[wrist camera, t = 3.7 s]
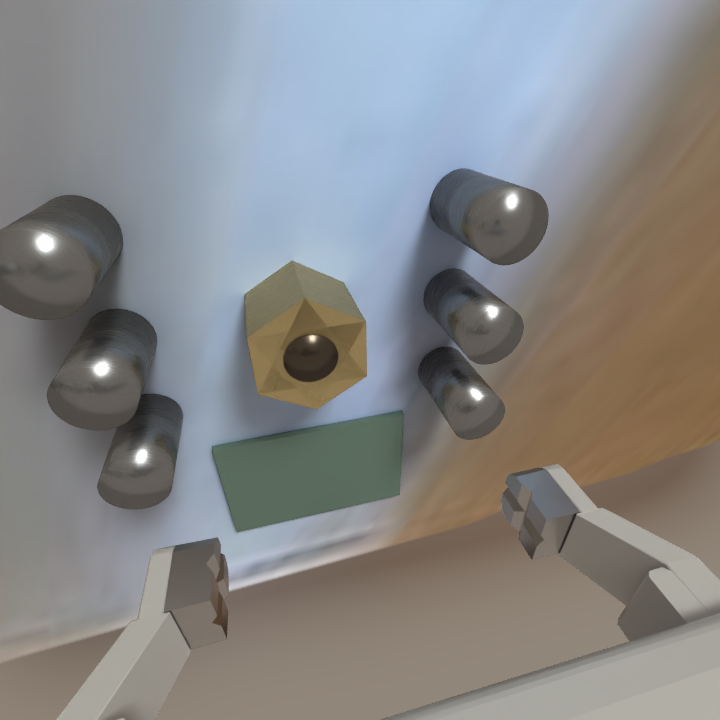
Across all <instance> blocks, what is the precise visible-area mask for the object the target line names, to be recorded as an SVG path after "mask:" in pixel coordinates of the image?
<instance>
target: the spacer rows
mask: <svg viewBox="0 0 720 720" xmlns="http://www.w3.org/2000/svg"><path fill="white" fill-rule="evenodd" d="M430 209H431V215H432V218H433V220H434V222H435V223H436V225H437V226H438V227H440V228H441V229H443V230H444V231H446V232H447V233H449V234H450V235H452V236H453V237H455V238H456V239H458V240H459V241H461V242H462V243H464V244H465V245H467V246H468V247H470V248H471V249H473V250H474V251H476V252H477V253H479V254H480V255H482V256H483V257H485V258H486V259H488V260H489V261H491V262H492V263H495V264H498V265H511V264H514V263H517V262H519V261H521V260H523V259H525V258H526V257H527V256H529V255H530V254H531V253H532V252H533V251H534V250H535V249H536V247H537V246H538V245H539V243H540V242H541V240H542V238H543V236H544V234H545V232H546V229H547V225H548V208H547V204H546V202H545V200H544V199H543V197H542V196H541V195H540V194H539V193H537V192H535V191H533V190H530V189H527V188H524V187H521V186H518V185H515V184H512V183H509V182H506V181H503V180H500V179H497V178H494V177H491V176H488V175H485V174H482V173H479V172H476V171H473V170H470V169H458V170H454V171H452V172H450V173H448V174H447V175H446V176H444V177H443V178H442V179H441V180H440V182H439V183H438V184H437V186H436V187H435V189H434V192H433V194H432V198H431V204H430ZM122 245H123V237H122V232H121V229H120V226H119V224H118V222H117V221H116V219H115V218H114V217H113V215H112V214H111V213H110V212H109V211H108V210H107V209H106V208H104V207H103V206H102V205H100V204H98V203H97V202H95V201H93V200H91V199H88V198H85V197H81V196H76V195H65V196H59V197H56V198H54V199H52V200H50V201H48V202H47V203H45V204H43V205H42V206H40V207H38V208H37V209H35V210H33V211H32V212H30V213H28V214H27V215H25V216H23V217H21V218H20V219H18V220H16V221H15V222H13V223H11V224H10V225H8V226H6V227H5V228H3V229H1V230H0V305H2V306H3V307H5V308H7V309H9V310H10V311H12V312H15V313H17V314H19V315H22V316H25V317H29V318H33V319H40V320H54V319H60V318H64V317H67V316H69V315H72V314H73V313H75V312H77V311H78V310H79V309H80V308H81V307H82V306H83V305H84V304H85V302H86V301H87V299H88V298H89V297H90V295H91V294H92V292H93V291H94V289H95V288H96V287H97V285H98V284H99V282H100V281H101V279H102V278H103V277H104V275H105V274H106V272H107V271H108V270H109V268H110V267H111V265H112V264H113V262H114V261H115V260H116V258H117V257H118V255H119V254H120V252H121V249H122ZM424 305H425V308H426V310H427V311H428V312H429V314H430V315H431V316H432V317H433V318H434V319H435V320H436V322H437V323H438V324H439V325H440V326H441V327H442V328H443V329H444V331H445V332H446V333H447V334H448V335H449V336H450V337H451V339H452V340H453V341H454V342H455V343H456V344H457V345H458V347H459V348H460V349H461V350H462V351H463V352H464V353H465V354H466V356H467V357H468V358H469V359H470V360H471V361H473V362H475V363H477V364H492V363H495V362H498V361H500V360H502V359H503V358H505V357H506V356H508V355H509V354H510V353H511V352H512V351H513V350H514V349H515V348H516V346H517V345H518V343H519V342H520V340H521V337H522V334H523V329H524V325H523V320H522V318H521V316H520V315H519V314H518V313H517V312H516V311H515V310H514V309H512V308H511V307H510V306H508V305H507V304H506V303H505V302H503V301H502V300H501V299H499V298H498V297H497V296H496V295H494V294H493V293H492V292H491V291H489V290H488V289H487V288H485V287H484V286H483V285H482V284H480V283H479V282H478V281H476V280H475V279H474V278H473V277H471V276H470V275H469V274H467V273H466V272H465V271H463V270H460V269H448V270H445V271H443V272H441V273H439V274H438V275H436V276H435V277H434V278H433V279H432V280H431V281H430V283H429V284H428V286H427V288H426V290H425V293H424ZM156 344H157V336H156V332H155V330H154V328H153V326H152V325H151V324H150V323H149V322H148V321H147V320H146V319H145V318H144V317H142V316H141V315H139V314H137V313H135V312H132V311H128V310H123V309H110V310H106V311H103V312H100V313H98V314H97V315H95V316H94V317H93V318H92V319H91V320H90V322H89V323H88V325H87V327H86V328H85V330H84V331H83V333H82V334H81V336H80V338H79V339H78V341H77V342H76V344H75V346H74V347H73V349H72V350H71V352H70V354H69V355H68V357H67V358H66V360H65V362H64V363H63V365H62V366H61V368H60V370H59V371H58V373H57V374H56V376H55V378H54V379H53V381H52V382H51V384H50V386H49V388H48V392H47V399H48V403H49V405H50V407H51V409H52V410H53V412H54V413H55V414H56V415H57V416H58V417H59V418H61V419H62V420H64V421H65V422H67V423H69V424H71V425H73V426H76V427H79V428H83V429H88V430H107V429H112V428H115V427H117V429H116V432H115V435H114V438H113V440H112V443H111V446H110V449H109V452H108V455H107V458H106V461H105V463H104V466H103V469H102V472H101V475H100V478H99V481H98V485H97V488H98V492H99V494H100V496H101V497H102V498H103V499H104V500H105V501H106V502H108V503H110V504H112V505H114V506H117V507H120V508H125V509H143V508H148V507H151V506H154V505H157V504H159V503H160V502H162V501H163V500H165V499H166V498H167V497H168V495H169V494H170V492H171V490H172V484H173V478H174V471H175V465H176V459H177V452H178V446H179V439H180V433H181V427H182V420H183V412H182V410H181V408H180V406H179V405H178V404H177V403H176V402H175V401H174V400H172V399H170V398H169V397H166V396H163V395H158V394H145V395H141V394H142V390H143V387H144V384H145V381H146V377H147V374H148V371H149V367H150V364H151V361H152V358H153V354H154V351H155V348H156ZM419 378H420V380H421V381H422V383H423V385H424V386H425V388H426V389H427V391H428V392H429V394H430V395H431V397H432V398H433V400H434V402H435V403H436V405H437V406H438V408H439V409H440V411H441V412H442V414H443V415H444V417H445V419H446V420H447V422H448V423H449V425H450V426H451V428H452V429H453V431H454V432H455V434H456V435H457V436H458V437H460V438H462V439H466V440H472V439H477V438H481V437H483V436H485V435H487V434H489V433H490V432H492V431H493V430H494V429H495V428H496V427H497V426H498V425H499V424H500V422H501V421H502V419H503V417H504V414H505V406H504V403H503V402H502V400H501V399H500V398H499V397H498V396H497V395H496V394H495V392H494V391H493V390H492V389H491V388H490V387H489V385H488V384H487V383H486V382H485V381H484V380H483V379H482V377H481V376H480V375H479V374H478V373H477V372H476V370H475V369H474V368H473V367H472V366H471V365H470V364H469V362H468V361H467V360H466V359H465V358H464V357H463V355H462V354H461V353H460V352H459V351H458V350H457V349H455V348H452V347H442V348H438V349H436V350H434V351H432V352H430V353H429V354H428V355H427V356H426V357H425V358H424V359H423V360H422V362H421V364H420V366H419Z"/></svg>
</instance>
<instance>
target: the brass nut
mask: <svg viewBox="0 0 720 720" xmlns="http://www.w3.org/2000/svg"><path fill="white" fill-rule="evenodd" d="M245 312H246V332H247V342H248V347H249V352H250V357H251V362H252V367H253V372H254V377H255V382H256V387H257V392H258V395H262V396H266V397H270V398H274V399H278V400H282V401H286V402H289V403H293V404H297V405H301V406H305V407H309V408H313V409H318V408H319V407H321V406H322V405H324V404H325V403H327V402H328V401H330V400H331V399H333V398H334V397H336V396H338V395H339V394H341V393H342V392H344V391H345V390H347V389H348V388H350V387H351V386H353V385H354V384H356V383H357V382H359V381H360V380H362V379H363V378H365V377H366V376H367V355H366V321H365V319H364V317H363V315H362V314H361V312H360V310H359V308H358V307H357V305H356V303H355V301H354V300H353V298H352V296H351V294H350V293H349V291H348V289H347V287H346V286H345V284H344V282H342V281H339V280H337V279H335V278H332V277H330V276H327V275H325V274H323V273H320V272H318V271H316V270H313V269H311V268H309V267H306V266H304V265H302V264H299V263H297V262H295V261H291V262H289V263H288V264H286V265H285V266H284V267H282V268H281V269H279V270H278V271H277V272H275V273H274V274H272V275H271V276H270V277H268V278H267V279H265V280H264V281H262V282H261V283H260V284H258V285H257V286H255V287H254V288H253V289H251V290H250V291H248V292H247V293H246V294H245Z"/></svg>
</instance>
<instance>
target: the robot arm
mask: <svg viewBox="0 0 720 720" xmlns="http://www.w3.org/2000/svg"><path fill="white" fill-rule="evenodd" d="M505 483H506V485H507V486H508V488H507V489H506V490H505V491H504V492H503V494H502V499H501V504H502V510H503V512H504V515H505V517H506V519H507V521H508V522H509V524H510V526H512V527H514V528H515V529H517V530H519V540H520V542H521V544H522V545H523V547H524V548H525V550H526V552H527V553H528V555H529V556H530V558H531V559H532V560H535V559H539V558H544V557H549V556H553V555H557V554H560V557H562V558H563V559H564V560H566V561H567V562H568V563H570V564H571V565H572V566H574V567H575V568H576V569H578V570H579V571H580V572H582V573H583V574H584V575H586V576H587V577H588V578H590V579H591V580H592V581H594V582H595V583H597V584H598V585H599V586H600V587H602V588H603V589H604V590H606V591H607V592H609V593H610V594H611V595H613V596H614V597H615V598H617V599H618V600H619V601H621V602H622V603H623V604H625V605H626V607H625V609H624V610H623V612H622V613H621V615H620V617H619V619H618V625H619V627H620V628H621V630H622V631H623V632H624V634H625V636H626V637H627V638H628V640H629V642H626V643H623V644H620V645H616V646H613V647H610V648H607V649H604V650H601V651H597V652H594V653H591V654H588V655H585V656H581V657H578V658H575V659H572V660H568V661H565V662H562V663H559V664H556V665H553V666H550V667H546V668H543V669H540V670H537V671H533V672H530V673H527V674H524V675H521V676H518V677H514V678H511V679H508V680H505V681H502V682H498V683H495V684H492V685H489V686H486V687H482V688H479V689H476V690H473V691H470V692H466V693H463V694H460V695H457V696H454V697H450V698H447V699H444V700H441V701H438V702H435V703H432V704H428V705H425V706H422V707H419V708H415V709H412V710H409V711H406V712H403V713H400V714H396V715H393V716H390V717H387V718H383V719H380V720H720V581H719V579H718V578H717V577H716V576H715V575H714V574H713V573H712V572H711V571H710V570H709V569H708V568H707V567H706V566H705V565H704V564H703V563H702V562H701V561H700V560H699V559H698V558H697V557H696V556H694V555H692V554H690V553H688V552H686V551H685V550H683V549H681V548H679V547H677V546H675V545H673V544H671V543H669V542H667V541H665V540H663V539H662V538H660V537H658V536H656V535H654V534H652V533H650V532H648V531H646V530H644V529H642V528H640V527H639V526H637V525H635V524H633V523H631V522H629V521H627V520H625V519H623V518H621V517H619V516H617V515H615V514H614V513H612V512H610V511H608V510H606V509H604V508H597V507H596V506H595V505H594V504H593V502H592V501H591V500H590V499H589V498H588V497H587V496H586V494H585V493H584V492H583V491H582V490H581V488H580V487H579V486H578V485H577V484H576V483H575V482H574V480H573V479H572V478H571V477H570V476H569V475H568V473H567V472H566V471H565V470H564V469H563V468H562V467H561V466H559V465H558V464H555V465H550V466H546V467H541V468H534V469H530V470H526V471H521V472H517V473H513V474H510V475H509V476H507V478H506V482H505ZM228 593H229V578H228V567H227V562H226V558H225V555H223V554H221V544H220V541H219V539H218V537H217V538H212V539H207V540H201V541H196V542H191V543H186V544H181V545H175V546H170V547H166V548H161V549H156V550H154V551H153V553H152V555H151V557H150V561H149V566H148V571H147V576H146V580H145V585H144V590H143V595H142V600H141V605H140V610H139V614H138V619H137V620H134V621H131V622H130V623H129V624H128V626H127V627H126V628H125V630H124V631H123V632H122V634H121V635H120V636H119V638H118V639H117V640H116V642H115V643H114V644H113V645H112V647H111V648H110V649H109V651H108V652H107V653H106V655H105V656H104V657H103V659H102V660H101V661H100V663H99V664H98V665H97V667H96V668H95V669H94V671H93V672H92V673H91V675H90V676H89V677H88V678H87V680H86V681H85V683H84V684H83V685H82V686H81V688H80V689H79V690H78V692H77V693H76V694H75V696H74V697H73V698H72V700H71V701H70V702H69V704H68V705H67V706H66V708H65V709H64V710H63V712H62V713H61V714H60V716H59V717H58V718H57V720H155V719H156V717H157V715H158V713H159V712H160V710H161V708H162V706H163V704H164V702H165V700H166V698H167V697H168V695H169V693H170V691H171V689H172V687H173V685H174V683H175V681H176V679H177V678H178V676H179V674H180V672H181V670H182V668H183V666H184V664H185V662H186V661H187V659H188V657H189V655H190V653H191V649H194V648H198V647H201V646H205V645H208V644H211V643H215V642H219V641H222V640H225V639H227V622H228V610H227V607H226V604H225V602H224V599H225V597H226V596H227V594H228Z"/></svg>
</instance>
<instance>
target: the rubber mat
mask: <svg viewBox="0 0 720 720" xmlns="http://www.w3.org/2000/svg"><path fill="white" fill-rule="evenodd" d="M403 417H404V414H403V413H402V411H398V412H393V413H387V414H382V415H377V416H371V417H366V418H361V419H355V420H350V421H345V422H339V423H334V424H329V425H323V426H318V427H313V428H307V429H302V430H297V431H291V432H286V433H281V434H275V435H270V436H265V437H259V438H254V439H249V440H243V441H238V442H233V443H227V444H222V445H217V446H213V447H212V452H213V455H214V458H215V462H216V465H217V468H218V471H219V475H220V478H221V481H222V484H223V488H224V491H225V494H226V497H227V501H228V504H229V507H230V511H231V514H232V517H233V520H234V524H235V527H236V530H237V532H240V531H244V530H249V529H253V528H258V527H262V526H266V525H271V524H275V523H279V522H284V521H288V520H292V519H297V518H301V517H305V516H310V515H314V514H319V513H323V512H327V511H332V510H336V509H340V508H345V507H349V506H353V505H358V504H362V503H366V502H371V501H375V500H380V499H384V498H388V497H393V496H397V495H400V476H401V457H402V437H403Z"/></svg>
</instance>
